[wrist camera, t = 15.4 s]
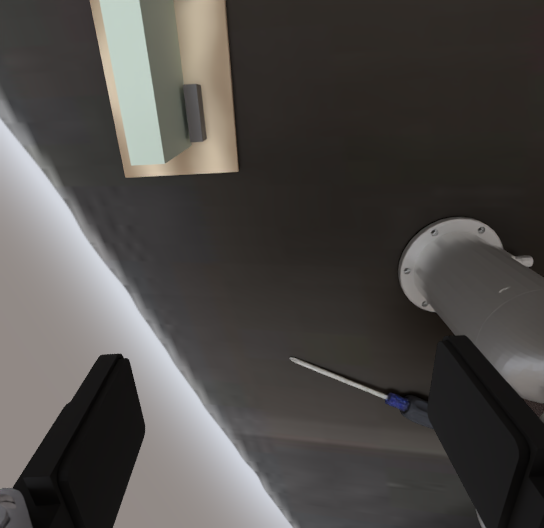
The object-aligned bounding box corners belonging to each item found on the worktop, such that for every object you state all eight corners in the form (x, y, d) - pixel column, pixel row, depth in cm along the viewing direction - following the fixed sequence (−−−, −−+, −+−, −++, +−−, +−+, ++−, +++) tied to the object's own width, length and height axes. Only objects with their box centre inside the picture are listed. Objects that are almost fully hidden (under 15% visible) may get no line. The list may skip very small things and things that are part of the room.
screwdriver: (284, 366, 53) (285, 384, 49) (295, 346, 51) (298, 364, 48) (437, 419, 58) (448, 440, 54) (451, 402, 56) (463, 422, 53)
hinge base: (215, -119, 32) (160, -399, 14) (239, 169, 41) (223, 222, 24) (73, -113, 32) (-167, -386, 14) (130, 175, 41) (31, 232, 23)
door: (163, -78, 32) (112, -171, 21) (191, 145, 39) (164, 163, 28) (119, -76, 32) (44, -169, 21) (155, 147, 39) (115, 166, 28)
